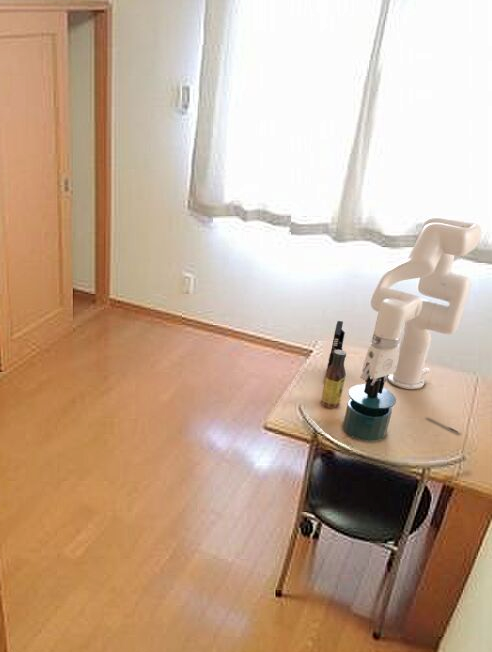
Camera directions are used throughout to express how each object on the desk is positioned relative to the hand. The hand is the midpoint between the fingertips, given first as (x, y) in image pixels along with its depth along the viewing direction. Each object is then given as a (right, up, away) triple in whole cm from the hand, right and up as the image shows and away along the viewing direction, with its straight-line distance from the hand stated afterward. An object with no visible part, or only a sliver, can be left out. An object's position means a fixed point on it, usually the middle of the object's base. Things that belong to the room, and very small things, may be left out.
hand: (372, 392), depth 203 cm
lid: (0, -1, +1) cm, 2 cm away
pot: (0, -12, +7) cm, 14 cm away
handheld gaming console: (-2, +5, +37) cm, 37 cm away
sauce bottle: (-7, -4, +21) cm, 22 cm away
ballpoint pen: (+26, -12, +10) cm, 31 cm away
